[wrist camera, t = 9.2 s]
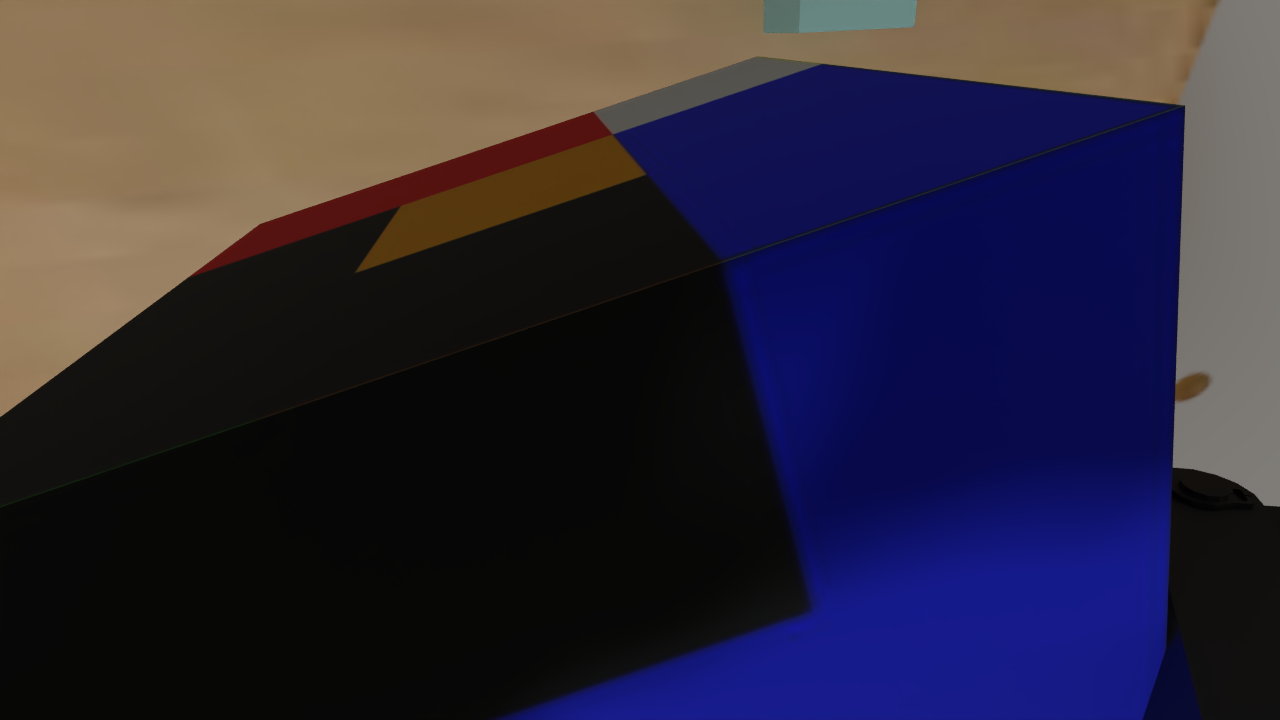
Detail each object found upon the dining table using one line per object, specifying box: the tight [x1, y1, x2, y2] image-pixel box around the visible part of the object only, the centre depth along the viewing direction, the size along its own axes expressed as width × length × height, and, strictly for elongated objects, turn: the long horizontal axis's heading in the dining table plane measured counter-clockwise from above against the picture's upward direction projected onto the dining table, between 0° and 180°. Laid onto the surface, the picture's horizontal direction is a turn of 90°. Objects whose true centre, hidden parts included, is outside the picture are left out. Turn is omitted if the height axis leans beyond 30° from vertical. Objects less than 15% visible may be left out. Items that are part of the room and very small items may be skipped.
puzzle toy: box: [0, 56, 1185, 720], centre depth 12 cm, size 10×10×10 cm
